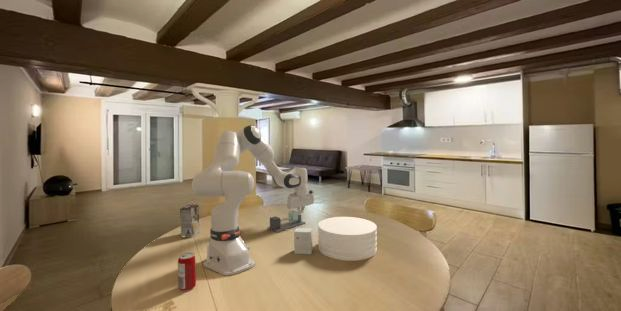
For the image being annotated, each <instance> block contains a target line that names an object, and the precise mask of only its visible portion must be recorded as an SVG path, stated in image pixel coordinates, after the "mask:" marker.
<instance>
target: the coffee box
mask: <svg viewBox="0 0 621 311" xmlns="http://www.w3.org/2000/svg"><path fill="white" fill-rule="evenodd" d="M179 210H180V211H179V213H180V237H181V236H185V237H192V238H193V236H194V235H195V236H196V235H197V234H199V233H200V232H201V231H200V230H201V229H200V214H199V213H200V208H199V204H187V205H185V206H183V207H181V208H179ZM199 231H200V232H199ZM198 232H199V233H198ZM195 236H194V237H195Z"/></svg>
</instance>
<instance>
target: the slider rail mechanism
mask: <svg viewBox="0 0 621 311" xmlns="http://www.w3.org/2000/svg"><path fill="white" fill-rule="evenodd" d="M290 219H292V217H289V216H288V217H283V218H280V217H279V216H271V217H269V226H268V227H267V229H268V230H270V231H273V232H275V233H279V232H283V231H286V229H287V230H290V229H293V228H297V227H299V226H303V224H304V225H306V222H305V221H302V214H298V221H296V222H291V221H289V220H290ZM296 226H297V227H296Z"/></svg>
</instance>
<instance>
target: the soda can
mask: <svg viewBox="0 0 621 311" xmlns="http://www.w3.org/2000/svg"><path fill="white" fill-rule="evenodd" d="M177 275H178V276H177V277H178V278H177V279H178V282H177V283H178V285H177V286H178V290H179V291H181V292H189V291H192V290H193V289H194V288H195V287H196V285H197V283H196V282H197V278H196V277H197V275H196V256H195V253H194V252H184V253H181V254H180V255H178V259H177Z"/></svg>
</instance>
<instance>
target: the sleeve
mask: <svg viewBox="0 0 621 311" xmlns="http://www.w3.org/2000/svg"><path fill="white" fill-rule="evenodd" d="M288 217H292V219H290V220H288V221H291V222H296V221H298V211H296V210H291V211H289V212H288Z"/></svg>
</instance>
